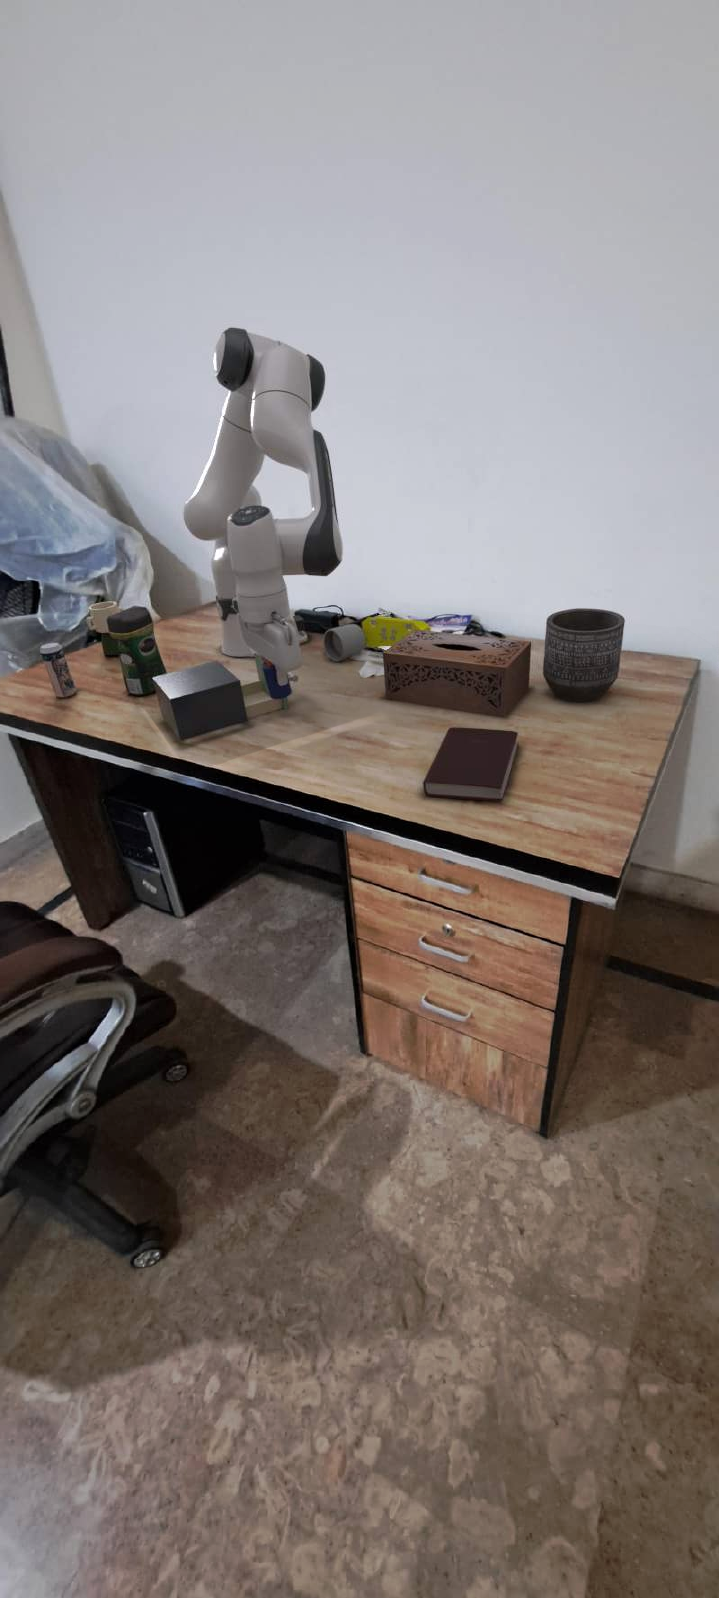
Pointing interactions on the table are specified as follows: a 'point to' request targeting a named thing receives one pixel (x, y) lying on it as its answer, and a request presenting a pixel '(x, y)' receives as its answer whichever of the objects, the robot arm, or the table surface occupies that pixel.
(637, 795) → the table surface
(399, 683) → the tissue box cover
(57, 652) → the beer can
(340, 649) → the ceramic mug
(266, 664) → the glue bottle
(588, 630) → the planter
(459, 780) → the book
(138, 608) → the coffee jar
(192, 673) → the drawer unit
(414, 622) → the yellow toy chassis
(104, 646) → the character mug
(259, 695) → the drawer
